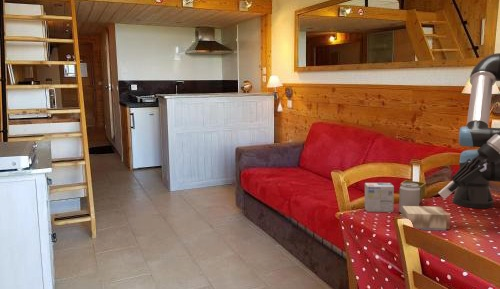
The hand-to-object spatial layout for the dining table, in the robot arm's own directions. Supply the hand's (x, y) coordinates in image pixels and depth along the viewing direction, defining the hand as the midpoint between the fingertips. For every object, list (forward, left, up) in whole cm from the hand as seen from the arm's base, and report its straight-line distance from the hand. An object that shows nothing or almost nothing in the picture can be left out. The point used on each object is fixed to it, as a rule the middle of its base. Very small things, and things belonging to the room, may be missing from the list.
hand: (441, 195), depth 145 cm
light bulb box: (+19, -17, -11) cm, 28 cm away
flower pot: (+3, -28, -11) cm, 30 cm away
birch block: (-2, 0, -8) cm, 8 cm away
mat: (+6, 0, -11) cm, 12 cm away
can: (+8, -13, -11) cm, 19 cm away
